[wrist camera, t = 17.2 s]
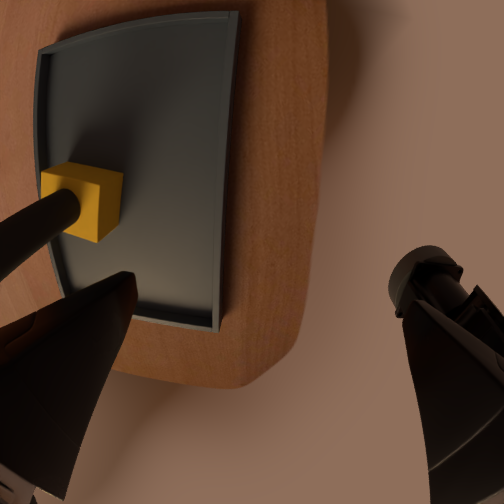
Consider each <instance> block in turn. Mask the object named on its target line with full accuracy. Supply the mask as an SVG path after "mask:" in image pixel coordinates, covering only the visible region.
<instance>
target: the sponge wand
mask: <svg viewBox="0 0 504 504" xmlns="http://www.w3.org/2000/svg"><path fill="white" fill-rule="evenodd" d="M122 182H123V173H120V172H116V171H111V170H107V169H102V168H97V167H92V166H88V165H83V164H78V163H73V162H68V161H67V162H65V163H62V164H59V165H56V166H54V167H51V168H48V169H46V170H43V171H41V199H40V200H38V201H36V202H35V203H33V204H31V205H29V206H27V207H26V208H24V209H22V210H20V211H19V212H17V213H15V214H14V215H12V216H10V217H8V218H7V219H5V220H4V221H2V222H0V282H1V281H2V280H3V279H4V278H5V277H6V276H8V275H9V274H10V273H11V272H12V271H13V270H15V269H16V268H17V267H18V266H19V265H20V264H22V263H23V262H24V261H25V260H26V259H28V258H29V257H30V256H31V255H33V254H34V253H35V252H36V251H38V250H39V249H40V248H42V247H43V246H44V245H45V244H47V243H48V242H49V241H51V240H52V239H53V238H55V237H56V236H57V235H59V234H60V233H62V232H66V233H69V234H72V235H74V236H77V237H80V238H83V239H86V240H89V241H92V242H95V243H98V242H99V241H101V240H102V239H103V238H104V237H105V236H106V235H108V234H109V233H110V232H111V231H112V230H113V229H115V228H116V227H117V226H118V225H119V212H120V201H121V191H122Z"/></svg>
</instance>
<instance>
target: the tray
mask: <svg viewBox="0 0 504 504" xmlns="http://www.w3.org/2000/svg"><path fill="white" fill-rule="evenodd" d="M241 23H242V18H241V15H240V12H239V11H204V12H189V13H179V14H170V15H162V16H155V17H149V18H143V19H138V20H133V21H128V22H123V23H119V24H115V25H111V26H107V27H103V28H99V29H96V30H92V31H89V32H86V33H82V34H79V35H76V36H73V37H70V38H68V39H65V40H62V41H59V42H57V43H54V44H52V45H49V46H47V47H44V48H42V49H40V50H39V51H38V57H37V65H36V74H35V86H34V104H33V140H34V159H35V171H36V181H37V189H38V197H39V200H40V199H41V171H43V170H46V169H48V168H51V167H54V166H56V165H59V164H62V163H65V162H67V161H68V162H73V163H78V164H83V165H88V166H92V167H97V168H102V169H107V170H111V171H116V172H120V173H123V182H122V191H121V201H120V212H119V225H118V226H117V227H116V228H115V229H113V230H112V231H111V232H110V233H109V234H108V235H106V236H105V237H104V238H103V239H102V240H101V241H99V242H98V243H95V242H92V241H89V240H86V239H83V238H80V237H77V236H74V235H72V234H69V233H66V232H62V233H60V234H59V235H57V236H56V237H55V238H53V239H52V240H51V241H49V242H48V243H47V246H48V250H49V254H50V258H51V262H52V266H53V269H54V273H55V276H56V280H57V283H58V287H59V290H60V293H61V296H62V298H64V297H66V296H68V295H70V294H72V293H75V292H77V291H79V290H81V289H83V288H85V287H87V286H90V285H92V284H94V283H96V282H98V281H100V280H103V279H105V278H107V277H109V276H111V275H114V274H116V273H118V272H120V271H129V272H133V273H134V274H135V277H136V283H137V289H138V301H137V304H136V307H135V309H134V312H133V315H132V319H137V320H142V321H147V322H153V323H158V324H164V325H169V326H175V327H181V328H187V329H194V330H201V331H208V332H214V333H219V331H220V326H221V322H222V300H223V271H224V247H225V226H226V207H227V190H228V174H229V158H230V144H231V131H232V118H233V106H234V94H235V83H236V72H237V61H238V51H239V42H240V32H241Z"/></svg>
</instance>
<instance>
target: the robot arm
mask: <svg viewBox="0 0 504 504" xmlns="http://www.w3.org/2000/svg"><path fill="white" fill-rule="evenodd" d="M419 265H420V267H418V266H419ZM458 271H459V272H458ZM462 273H463V268H462V267H461V266H459V265H451V264H443V263H435V262H427V261H417V262H415V264H414V266H413V269H412V271H411V274H410V277H409V279H408V282H407V283H406V286H405V288H404V291H403V293H402V296H401V298H400V301H399V304H398V306H397V309H396V311H395V315H396V317H397V318H403V322H402V327H403V332H404V338H405V344H406V350H407V356H408V362H409V366H410V371H411V375H412V379H413V383H414V388H415V392H416V396H417V401H418V406H419V411H420V416H421V422H422V428H423V434H424V440H425V447H426V454H427V463H428V471H429V472H428V474H429V486H430V503H431V504H504V316H503V315H502V313H501V312H500V311H499V309H498V308H497V307H496V306H495V304H494V303H493V302H492V301H491V300H490V299H489V297H488V296H487V295H486V294H485V293H484V292H483V291H482V289H481V288H480V287H479V286H478V285H476V287H475V288H474V289H473V292H472V293H471V294H470V295H468V293H467V292H466V291H465V290H464V289H463V287H462V286H461V285H460V284H459V280H460V278H461V276H462ZM137 301H138V289H137V283H136V277H135V274H134V273H133V272H129V271H120V272H118V273H116V274H114V275H111V276H109V277H107V278H105V279H103V280H100V281H98V282H96V283H94V284H92V285H90V286H87V287H85V288H83V289H81V290H79V291H77V292H75V293H72V294H70V295H68V296H66V297H64V298H62V299H60V300H58V301H56V302H54V303H52V304H50V305H48V306H45V307H43V308H41V309H39V310H38V311H37V312H36V311H35V312H33V313H31V314H29V315H27V316H25V317H23V318H21V319H19V320H17V321H15V322H12V323H10V324H8V325H6V326H3V327H1V328H0V504H37V502H36V499H35V497H34V495H33V493H34V490H35V488H36V487H38V488H39V489H41V490H43V491H45V492H47V493H48V494H50V495H52V496H54V497H56V498H58V499H60V500H62V501H64V499H65V496H66V492H67V488H68V485H69V482H70V478H71V475H72V471H73V468H74V465H75V462H76V459H77V456H78V453H79V450H80V447H81V444H82V441H83V438H84V435H85V432H86V430H87V427H88V424H89V421H90V419H91V416H92V413H93V411H94V408H95V406H96V403H97V401H98V398H99V396H100V394H101V391H102V388H103V386H104V384H105V381H106V379H107V377H108V374H109V372H110V370H111V367H112V365H113V363H114V361H115V358H116V356H117V354H118V352H119V350H120V347H121V345H122V343H123V341H124V338H125V335H126V333H127V330H128V327H129V324H130V321H131V318H132V315H133V312H134V309H135V307H136V304H137ZM400 312H401V313H400ZM399 313H400V314H399Z"/></svg>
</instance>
